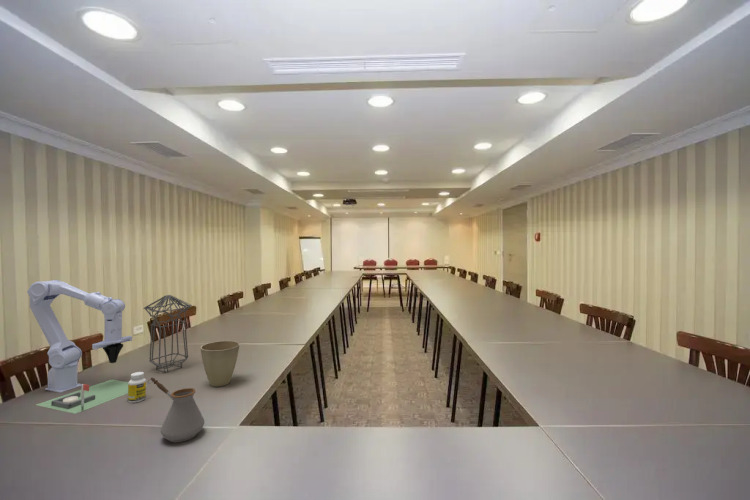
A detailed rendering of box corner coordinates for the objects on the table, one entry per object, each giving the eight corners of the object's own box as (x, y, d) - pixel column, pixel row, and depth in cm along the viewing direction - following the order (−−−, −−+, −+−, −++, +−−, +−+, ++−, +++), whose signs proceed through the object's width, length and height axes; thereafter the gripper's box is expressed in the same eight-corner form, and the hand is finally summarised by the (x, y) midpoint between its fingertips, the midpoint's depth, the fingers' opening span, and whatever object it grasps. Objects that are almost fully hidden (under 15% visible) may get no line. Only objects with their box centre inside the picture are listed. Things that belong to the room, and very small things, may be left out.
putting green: (35, 405, 122) (35, 404, 122) (111, 380, 147) (111, 379, 147) (75, 414, 115) (75, 413, 115) (147, 386, 140) (147, 385, 140)
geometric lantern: (194, 367, 164) (193, 294, 163) (159, 378, 150) (158, 298, 150) (176, 361, 172) (176, 291, 171) (142, 371, 159) (141, 295, 158)
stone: (60, 405, 121) (60, 399, 121) (72, 400, 125) (73, 395, 125) (67, 407, 120) (67, 401, 120) (80, 402, 124) (80, 396, 124)
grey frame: (51, 405, 121) (51, 380, 121) (78, 396, 129) (78, 372, 130) (85, 412, 116) (85, 386, 116) (111, 402, 124) (111, 377, 124)
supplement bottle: (136, 403, 124) (136, 376, 124) (124, 402, 125) (124, 375, 125) (149, 397, 129) (149, 371, 129) (137, 396, 130) (137, 370, 130)
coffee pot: (212, 430, 105) (213, 381, 105) (177, 450, 95) (178, 395, 95) (167, 416, 114) (168, 371, 114) (130, 432, 104) (131, 383, 104)
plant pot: (191, 387, 139) (192, 347, 139) (220, 375, 153) (221, 339, 153) (219, 392, 134) (219, 351, 134) (246, 379, 147) (247, 342, 148)
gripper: (101, 334, 133) (100, 369, 133) (137, 326, 147) (137, 358, 146) (88, 332, 135) (88, 367, 135) (125, 325, 149) (125, 356, 149)
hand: (112, 362), depth 141 cm, fingers closed
